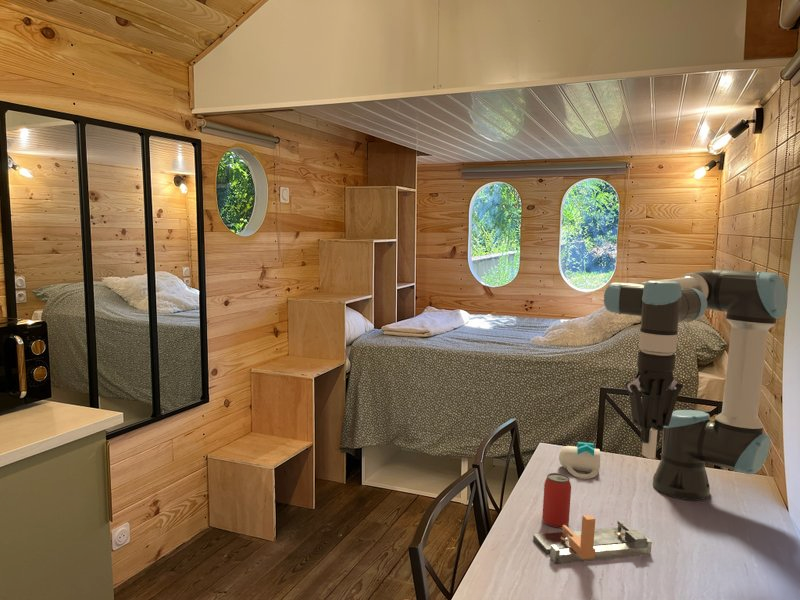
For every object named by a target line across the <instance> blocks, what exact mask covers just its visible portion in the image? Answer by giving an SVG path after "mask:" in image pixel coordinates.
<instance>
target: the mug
mask: <svg viewBox="0 0 800 600" xmlns="http://www.w3.org/2000/svg"><path fill="white" fill-rule="evenodd" d="M558 461H559V464H560V465H561V466H562V467H563V468H564V469H566V470H567V471H568V472H569V474H570V475H572V476H573V477H575V478H577V479H580V480H581V479H582V480H588V479H592V478H595V477H596V476H598V474H599V473H600V469H601V450H600V448H595V443H593V442H583V441H577V445H576V446H574V445H565V446H563V447H562V448H561V449H560V451H559V454H558ZM577 471H581V472H589V473H586V474H585V473H579V472H577Z"/></svg>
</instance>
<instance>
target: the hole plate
mask: <svg viewBox="0 0 800 600" xmlns="http://www.w3.org/2000/svg"><path fill="white" fill-rule="evenodd" d="M571 531H572V532H573V533H574V534H575V535H576V536H581V530H571ZM569 537H570V536H569V535H568V534H567V533H566V537H563V531H559V532H558V531H557V532H547V533H534V534H533V538H532V539H533V541H534V542H535V543H536V544H537V545H538V547H539V548H540V549H541V550H542V551H543V552H544V553H545V554H546V555H550V552H551V545H556V546H557V547H558V548H559V549H568V548H571V547H570V546H569ZM623 543H627V542H626V541H625V530H624V529H623V528H622V527H621V532H618V526H617V527H607V528H606V527H603V528H595V532H594V546H601V545H612V544H623Z"/></svg>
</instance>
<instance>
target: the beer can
mask: <svg viewBox="0 0 800 600" xmlns="http://www.w3.org/2000/svg"><path fill="white" fill-rule="evenodd" d="M570 480H571V479H570V476H569V475H567V474H563V473H560V472H559V473H558V472H551V473H549V474H547V475H546V479H545V481H544V483H543V484H544V487H543V500H542V502H543V503H542V518H541V519H542V521H543V523H544V524H546V525H548V526H549V527H551V528H562V525H566V526H567V527H568V525H569V523H570V512H571V511H570V510H571V509H570V508H571V497H572V496H571V495H572V483H571V481H570Z"/></svg>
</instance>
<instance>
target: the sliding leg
mask: <svg viewBox="0 0 800 600" xmlns="http://www.w3.org/2000/svg"><path fill="white" fill-rule="evenodd" d="M581 517H582V518H581V536H576V535H575V534H574V533H573V532H572V531H573V530H571V529H570V528H569V527H568V525H567V526H566V525H562V527H561V528H562V532H563V537H566V533H567V534H568V535H569V536H570V537H569V546H570V547H571V548H572V549H573V550H574V551H575V552H576V553H577V554H578V555H579V556H580V557H581V558H582V559H588V558H595V548H594V547H593V546H594V532H595V529H596V518H595V517H594V516H593V515H592V514H586V515H585V514H583V515H581Z"/></svg>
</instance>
